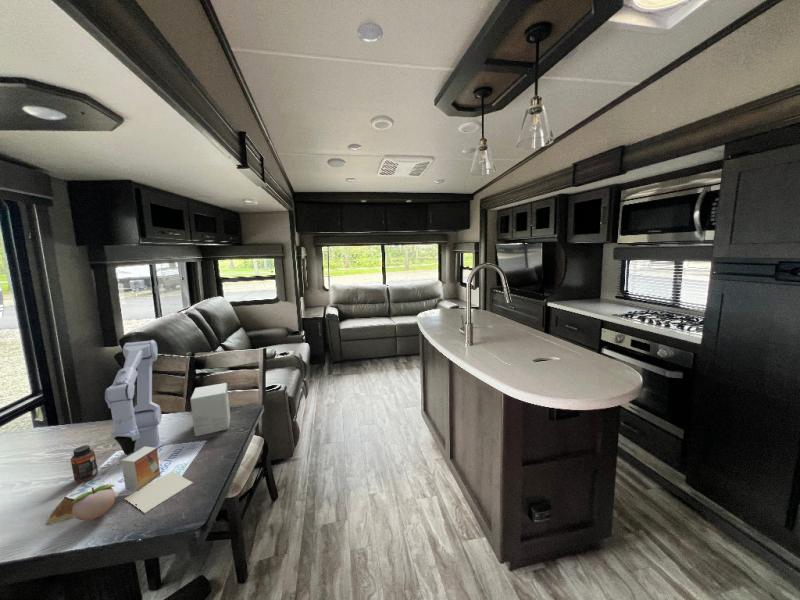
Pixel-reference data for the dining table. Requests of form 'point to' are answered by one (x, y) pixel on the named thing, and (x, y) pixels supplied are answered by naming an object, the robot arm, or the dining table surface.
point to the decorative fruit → (94, 503)
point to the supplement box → (210, 409)
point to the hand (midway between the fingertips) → (129, 453)
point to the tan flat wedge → (62, 511)
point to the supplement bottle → (84, 464)
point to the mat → (158, 491)
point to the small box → (140, 467)
